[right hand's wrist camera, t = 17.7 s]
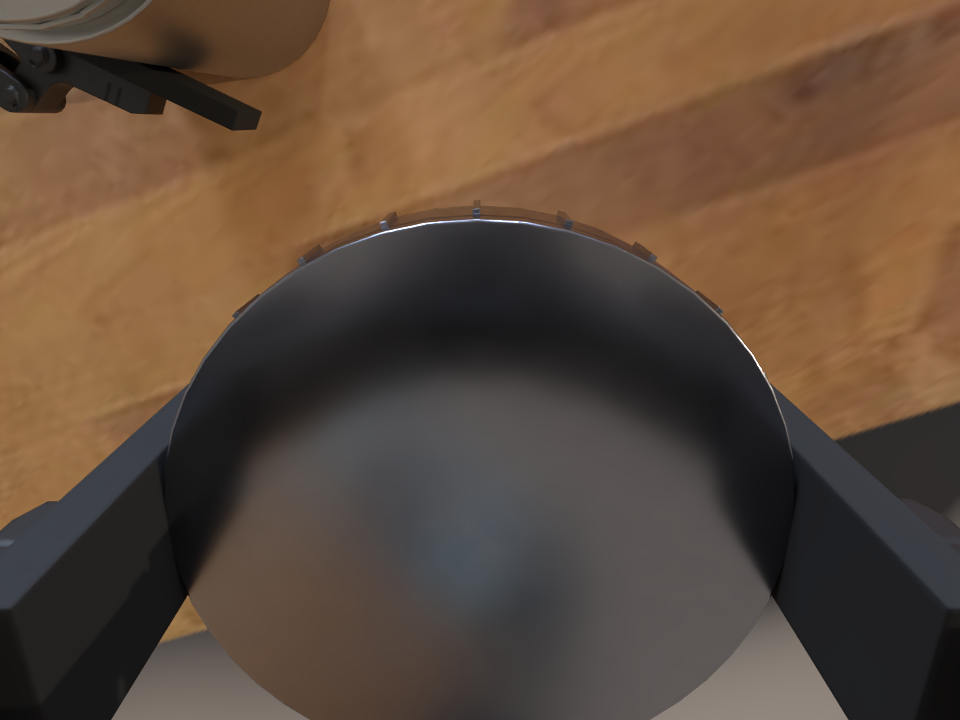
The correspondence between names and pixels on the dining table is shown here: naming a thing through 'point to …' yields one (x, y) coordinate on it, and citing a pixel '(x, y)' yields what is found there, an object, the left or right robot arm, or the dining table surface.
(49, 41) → the jar
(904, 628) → the right robot arm
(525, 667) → the lid
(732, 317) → the dining table surface
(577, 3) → the dining table surface
